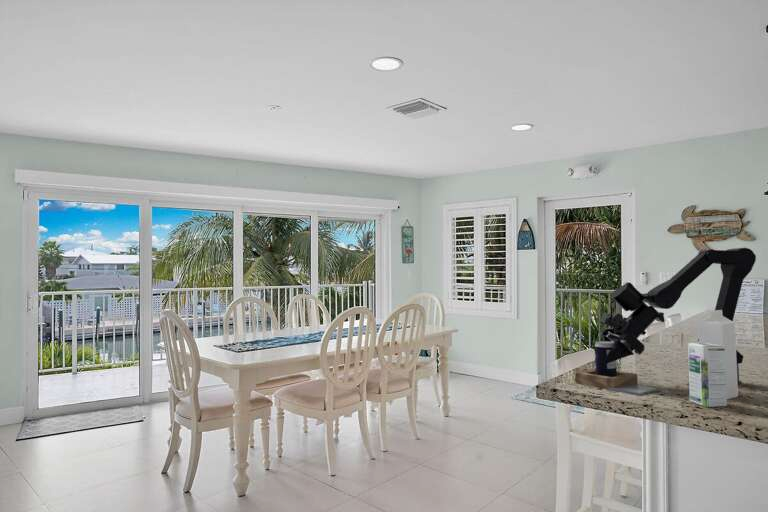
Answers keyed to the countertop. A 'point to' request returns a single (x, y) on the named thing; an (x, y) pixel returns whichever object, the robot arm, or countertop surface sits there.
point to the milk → (722, 334)
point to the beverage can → (600, 354)
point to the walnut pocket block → (605, 379)
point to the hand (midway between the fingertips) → (600, 360)
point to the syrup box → (707, 374)
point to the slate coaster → (633, 389)
